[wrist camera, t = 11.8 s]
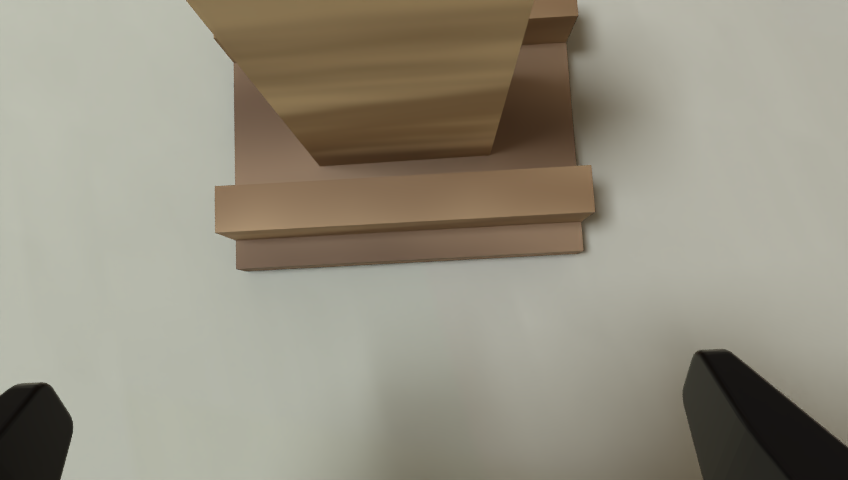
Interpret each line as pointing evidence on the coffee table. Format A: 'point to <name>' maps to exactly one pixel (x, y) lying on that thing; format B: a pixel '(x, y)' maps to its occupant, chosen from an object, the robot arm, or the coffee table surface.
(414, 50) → the wooden block
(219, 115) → the coffee table surface
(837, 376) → the coffee table surface
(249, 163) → the mating board
